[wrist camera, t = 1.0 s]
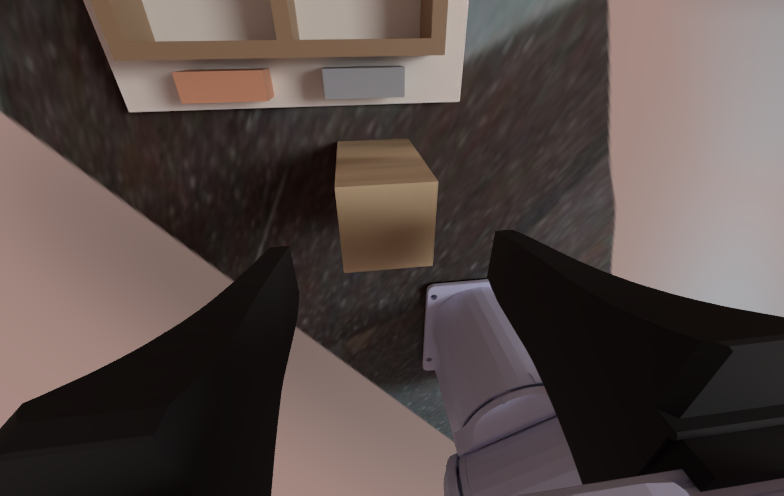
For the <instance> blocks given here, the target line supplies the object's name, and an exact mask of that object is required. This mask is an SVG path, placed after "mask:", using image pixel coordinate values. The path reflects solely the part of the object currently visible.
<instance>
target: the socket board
mask: <svg viewBox="0 0 784 496" xmlns="http://www.w3.org/2000/svg"><path fill="white" fill-rule="evenodd" d="M83 1H84V4H85V6H86V9H87V11H88V13H89V16H90V18H91V21H92V23H93V26H94V28H95V30H96V33H97V35H98V38H99V40H100V43H101V45H102V47H103V50H104V52H105V55H106V57H107V60H108V62H109V64H110V67H111V69H112V72H113V74H114V77H115V79H116V82H117V84H118V86H119V89H120V91H121V94H122V96H123V99H124V101H125V103H126V106H127V108H128V111H129V112H155V111H186V110H217V109H249V108H280V107H311V106H342V105H373V104H404V103H435V102H460V93H461V82H462V70H463V59H464V48H465V37H466V26H467V15H468V4H469V0H83Z"/></svg>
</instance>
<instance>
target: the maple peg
mask: <svg viewBox="0 0 784 496" xmlns="http://www.w3.org/2000/svg"><path fill="white" fill-rule="evenodd" d="M437 192H438V180H437V179H436V178H435V176H434V175H433V173H432V172H431V170H430V169H429V168H428V166H427V165H426V163H425V162H424V160H423V159H422V158H421V156H420V155H419V153H418V152H417V150H416V149H415V147H414V146H413V145H412V143H411V142H410V140H409V139H385V140H361V141H338V143H337V158H336V173H335V196H336V205H337V214H338V223H339V232H340V241H341V250H342V259H343V268H344V273H350V272H362V271H374V270H386V269H398V268H410V267H422V266H433V252H434V237H435V222H436V207H437Z"/></svg>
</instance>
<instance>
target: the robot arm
mask: <svg viewBox="0 0 784 496" xmlns="http://www.w3.org/2000/svg"><path fill="white" fill-rule="evenodd" d="M487 278H488V279H483V280H472V281H461V282H450V283H438V284H431V285H429V286H428V287H427V291H426V309H425V327H424V344H423V362H422V365H423V369H424V370H426V371H430V370H435V372H436V376H437V379H438V383H439V387H440V390H441V394H442V397H443V401H444V404H445V408H446V412H447V415H448V419H449V422H450V426H451V429H452V432H453V438H454V442H455V446H456V449H457V453H456V454H454V455H452V456H450V457H449V459H448V461H447V465H446V472H445V476H444V496H784V317H779V316H774V315H768V314H762V313H757V312H751V311H746V310H740V309H735V308H729V307H724V306H720V305H716V304H711V303H707V302H702V301H698V300H694V299H690V298H685V297H682V296H678V295H674V294H670V293H667V292H664V291H660V290H657V289H653V288H650V287H646V286H643V285H640V284H637V283H634V282H631V281H628V280H625V279H623V278H620V277H617V276H614V275H612V274H609V273H606V272H604V271H601V270H599V269H596V268H594V267H592V266H589V265H587V264H585V263H582V262H580V261H578V260H576V259H573V258H571V257H569V256H567V255H565V254H563V253H561V252H559V251H557V250H554V249H552V248H550V247H548V246H546V245H544V244H542V243H540V242H538V241H536V240H534V239H532V238H530V237H528V236H526V235H524V234H521V233H519V232H517V231H514V230H502V231H495V236H494V242H493V247H492V253H491V259H490V264H489V270H488V276H487ZM432 295H435V296H433V297H431V296H432ZM298 304H299V290H298V285H297V280H296V276H295V271H294V266H293V262H292V257H291V252H290V247H289V246H285V247H271V248H270V249H268V250H267V251H266V252H265V253H264V254H263V255H262V256H261V257H260V258H259V259H258V260H257V261H256V262H255V263H254V264H253V265H252V266H250V267H249V268H248V269H247V270H246V271H245V272H244V273H243V274H242V275H241V276H240V277H239V278H238V279H237V280H235V281H234V282H233V283H232V284H231V285H230V286H228V287H227V288H226V289H225V290H224V291H223V292H221V293H220V294H219V295H218V296H217V297H215V298H214V299H213V300H212V301H210V302H209V303H208V304H207V305H205V306H204V307H203V308H201V309H200V310H199V311H197V312H196V313H194V314H193V315H192V316H190V317H188V318H187V319H186V320H184V321H183V322H181V323H180V324H178V325H177V326H175V327H173V328H172V329H170V330H168V331H167V332H165V333H163V334H162V335H160V336H159V337H157V338H155V339H154V340H152V341H150V342H149V343H147V344H145V345H144V346H142V347H140V348H139V349H136V350H135V351H133V352H131V353H129V354H127V355H125V356H123V357H122V358H120V359H118V360H116V361H114V362H112V363H110V364H108V365H106V366H104V367H102V368H100V369H98V370H96V371H94V372H92V373H90V374H88V375H86V376H83V377H81V378H79V379H77V380H75V381H72V382H70V383H68V384H66V385H63V386H61V387H59V388H57V389H55V390H53V391H50V392H48V393H46V394H44V395H41V396H39V397H37V398H35V399H32V400H30V401H27V402H25V403H23V404H22V405H21V406H20V407H19V408H18V409H17V410H16V412H15V413H14V414H13V415H12V416H11V417H10V418H9V419H8V420H7V422H6V423H5V424H4V425H3V426H2V427H1V428H0V496H271V489H272V477H273V466H274V454H275V453H274V452H275V444H276V434H277V425H278V416H279V407H280V399H281V391H282V385H283V380H284V375H285V370H286V366H287V361H288V357H289V352H290V349H291V344H292V340H293V336H294V331H295V327H296V322H297V315H298Z"/></svg>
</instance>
